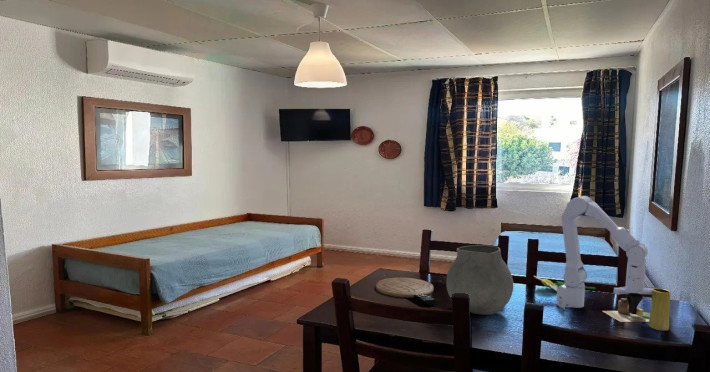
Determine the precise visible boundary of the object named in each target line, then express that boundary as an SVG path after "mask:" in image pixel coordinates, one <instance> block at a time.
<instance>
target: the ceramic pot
mask: <svg viewBox="0 0 710 372" xmlns="http://www.w3.org/2000/svg"><path fill="white" fill-rule="evenodd" d="M446 290H447V293H448V296H449V298H450V299H451V297H452V294H454V293H465V294H468V295H469V298H470V312H471V313H470V312H469V313H470V314H475V315H484V316H490V315H495V314H496V313H498V312H499V311H501V310H502V309H503V308H505V307H506V306H507V304H509V302H510V300H511V298H512V295H513V292H514V279H513V275H512V272H511V270H510V269H509V267H508V265H507V264H506V262H505V261H504V260H503V258H502V252H501V248H500V247H499V246H496V245H486V244H485V245H484V244H482V245H480V244H478V245H463V246H460V247H457V248H456V257H455V259H454V260H453V262H452V264H451V265H450V267H449V269H448V272H447V274H446Z"/></svg>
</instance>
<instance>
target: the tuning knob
mask: <svg viewBox="0 0 710 372" xmlns="http://www.w3.org/2000/svg"><path fill="white" fill-rule="evenodd" d="M617 311H618V313H621V314H626V315H628V314H630V313H629V303H628V301H627V298H626V297H625V298H624V297H621V298H620V299H619V300H618V304H617ZM643 312H645V310H644V309H642V308H640V307H637V311H636V314H635V315H638V316H640V317H642V316H643Z"/></svg>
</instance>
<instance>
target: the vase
mask: <svg viewBox="0 0 710 372" xmlns="http://www.w3.org/2000/svg"><path fill="white" fill-rule="evenodd" d="M652 289H653V290H652V294H651V305H650V312H649V313H650V319H649V322H648V327H650V328H651V329H653V330H657V331H669V330H670V304H671V291H670V290H668V289H665V288H657V287H656V288H655V287H654V288H652Z"/></svg>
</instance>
